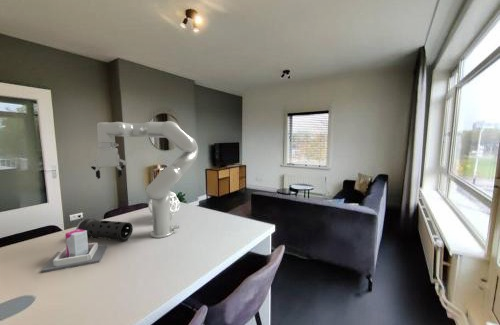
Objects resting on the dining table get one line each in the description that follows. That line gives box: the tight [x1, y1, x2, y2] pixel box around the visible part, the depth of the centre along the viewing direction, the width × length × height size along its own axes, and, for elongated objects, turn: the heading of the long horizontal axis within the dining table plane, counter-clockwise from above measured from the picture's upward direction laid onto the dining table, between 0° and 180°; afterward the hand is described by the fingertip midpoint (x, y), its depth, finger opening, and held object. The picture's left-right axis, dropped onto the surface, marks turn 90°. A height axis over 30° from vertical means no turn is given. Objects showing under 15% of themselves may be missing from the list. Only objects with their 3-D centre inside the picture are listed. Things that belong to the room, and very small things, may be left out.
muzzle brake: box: [75, 218, 134, 242], centre depth 119 cm, size 10×28×10 cm, turn 78°
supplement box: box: [65, 229, 89, 258], centre depth 99 cm, size 6×6×12 cm
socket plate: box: [40, 242, 108, 274], centre depth 99 cm, size 20×16×4 cm
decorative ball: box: [147, 190, 181, 218], centre depth 148 cm, size 20×20×19 cm
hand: (109, 177), depth 118 cm, fingers open, 9 cm apart
